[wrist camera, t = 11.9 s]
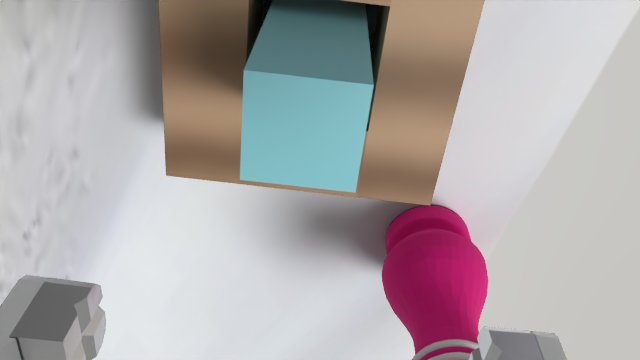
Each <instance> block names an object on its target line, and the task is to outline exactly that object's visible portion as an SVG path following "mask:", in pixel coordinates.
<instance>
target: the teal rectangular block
mask: <svg viewBox="0 0 640 360" xmlns="http://www.w3.org/2000/svg"><path fill="white" fill-rule="evenodd" d="M373 87H374V83H373V73H372V63H371V54H370V44H369V34H368V25H367V15H366V5H365V3H359V2H351V1H343V0H273V1H272V3H271V6H270V8H269V11H268V13H267V15H266V18H265V20H264V23H263V25H262V27H261V30H260V32H259V34H258V37H257V39H256V42H255V44H254V46H253V49H252V51H251V54H250V56H249V58H248V61H247V63H246V66H245V68H244V76H243V104H242V132H241V160H240V180H246V181H255V182H264V183H273V184H282V185H291V186H300V187H309V188H318V189H327V190H336V191H345V192H354V193H355V192H356V186H357V181H358V175H359V169H360V163H361V157H362V151H363V145H364V139H365V134H366V128H367V122H368V116H369V110H370V104H371V98H372V92H373Z"/></svg>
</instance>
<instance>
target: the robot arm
mask: <svg viewBox="0 0 640 360" xmlns="http://www.w3.org/2000/svg"><path fill="white" fill-rule="evenodd" d="M101 299H102V291H101V286H100V285H98V284H93V283H86V282H79V281H71V280H64V279H57V278H46V277H39V276H31V275H25V276H24V277H22V278H21V279H19V280H18V282H17V283H16V285H15V286H14V287H13V289H12V290H11V292H10V293H9V295H8V296H7V297H6V299H5V300H4V302H3V303H2V304H1V306H0V360H92V359H93V358H95V357H96V356H97V354H98V352H99V350H100V348H101V345H102V342H103V338H104V334H105V326H106V318H105V312H104V311H103V310H102V309H101V308H100V307H99V306H98V305H99V303H100V301H101ZM477 340H478V344H479V348H477V349H476V350H474V351H472V352H471V355H470V358H469V360H567V358H566V356H565V353H564V351H563V348H562V346H561V343H560V341H559V339H558V337H557V336H556V335H555V334H554V333H545V332H536V331H527V330H516V329H506V328H496V327H486V326H484V327H483V328H482V329H481V330H480V332H479V335H478V337H477Z"/></svg>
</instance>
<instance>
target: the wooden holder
mask: <svg viewBox="0 0 640 360" xmlns="http://www.w3.org/2000/svg"><path fill="white" fill-rule="evenodd" d="M343 1H351V2H359V3H367V4H376V5H379V8H378V14H377V20H376V26H375V32H374V39H373V45H372V51H371V63H372V73H373V83H374V87H373V92H372V98H371V104H370V110H369V116H368V122H367V128H366V134H365V139H364V145H363V151H362V157H361V163H360V169H359V175H358V181H357V186H356V192H355V193H354V192H345V191H336V190H327V189H318V188H309V187H300V186H291V185H282V184H273V183H264V182H255V181H246V180H240V160H241V132H242V104H243V76H244V68H245V66H246V63H247V61H248V58H249V56H250V54H251V51H252V49H253V46H254V44H255V42H256V39H257V37H258V34H259V32H260V30H261V14H262V0H159V23H160V46H161V68H162V91H163V114H164V137H165V160H166V175H167V176H175V177H184V178H193V179H202V180H210V181H219V182H228V183H237V184H246V185H254V186H263V187H272V188H281V189H289V190H298V191H307V192H316V193H324V194H333V195H342V196H351V197H359V198H368V199H377V200H386V201H395V202H403V203H412V204H421V205H430V204H431V201H432V197H433V193H434V189H435V186H436V182H437V178H438V174H439V170H440V167H441V163H442V159H443V155H444V152H445V148H446V144H447V140H448V136H449V133H450V129H451V125H452V121H453V118H454V114H455V110H456V106H457V102H458V99H459V95H460V91H461V87H462V84H463V80H464V76H465V72H466V68H467V65H468V61H469V57H470V53H471V50H472V46H473V42H474V38H475V34H476V31H477V27H478V23H479V19H480V16H481V12H482V8H483V4H484V0H343Z"/></svg>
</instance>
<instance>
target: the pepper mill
mask: <svg viewBox="0 0 640 360" xmlns="http://www.w3.org/2000/svg"><path fill="white" fill-rule="evenodd" d="M386 251H387V257H386V259H385V261H384V264H383V269H382V282H383V286H384V291H385V294H386V298H387V300H388V302H389V303H390V305H391V307H392V309H393V311H394V313H395V314H396V315H397V317H398V318H399V319H400V320H401V322H402V323H403V324H404V326H405V327H406V328H407V330H408V331H409V333H410V334H411V336H412V339H413V341H414V347H415V356H414V358H413V359H412V360H469V358H470V355H471V352H472V351H474V350H476V349H477V348H479V344H478V340H477V337H478V335H479V331H478V322H479V318H480V315H481V312H482V309H483V306H484V303H485V299H486V296H487V286H488V276H487V270H486V264H485V260H484V258H483V256H482V254H481V252H480V251H479V249H478V248H477V247H476V246H475V245H474V244H473V243H472V242H471V239H470V236H469V232H468V229H467V226H466V224H465V222H464V221H463V220H462V218H461V217H460V216H459V215H457V214H456V213H455V212H453V211H451V210H449V209H447V208H444V207H440V206H420V207H416V208H413V209H410V210H407V211H405V212H404V213H402V214H401V215H399V216H398V217H397V218H396V219H395V220H394V221H393V222H392V224H391V225H390V226H389V228H388V231H387V234H386Z"/></svg>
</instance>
